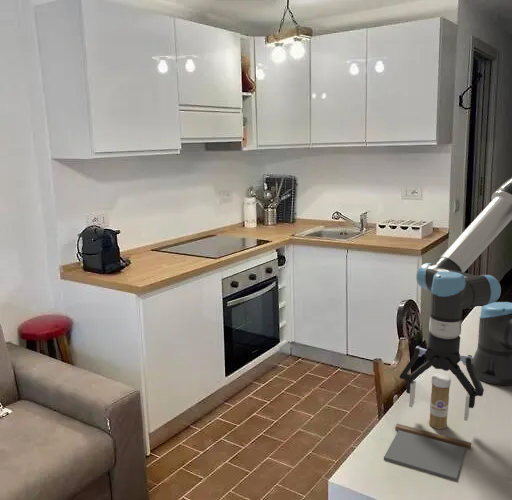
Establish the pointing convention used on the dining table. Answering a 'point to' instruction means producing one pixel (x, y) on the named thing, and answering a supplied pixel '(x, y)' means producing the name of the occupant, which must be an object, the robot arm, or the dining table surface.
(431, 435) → the brown wooden strip
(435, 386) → the sprinkles bottle
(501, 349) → the robot arm
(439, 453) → the mat
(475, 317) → the dining table surface
